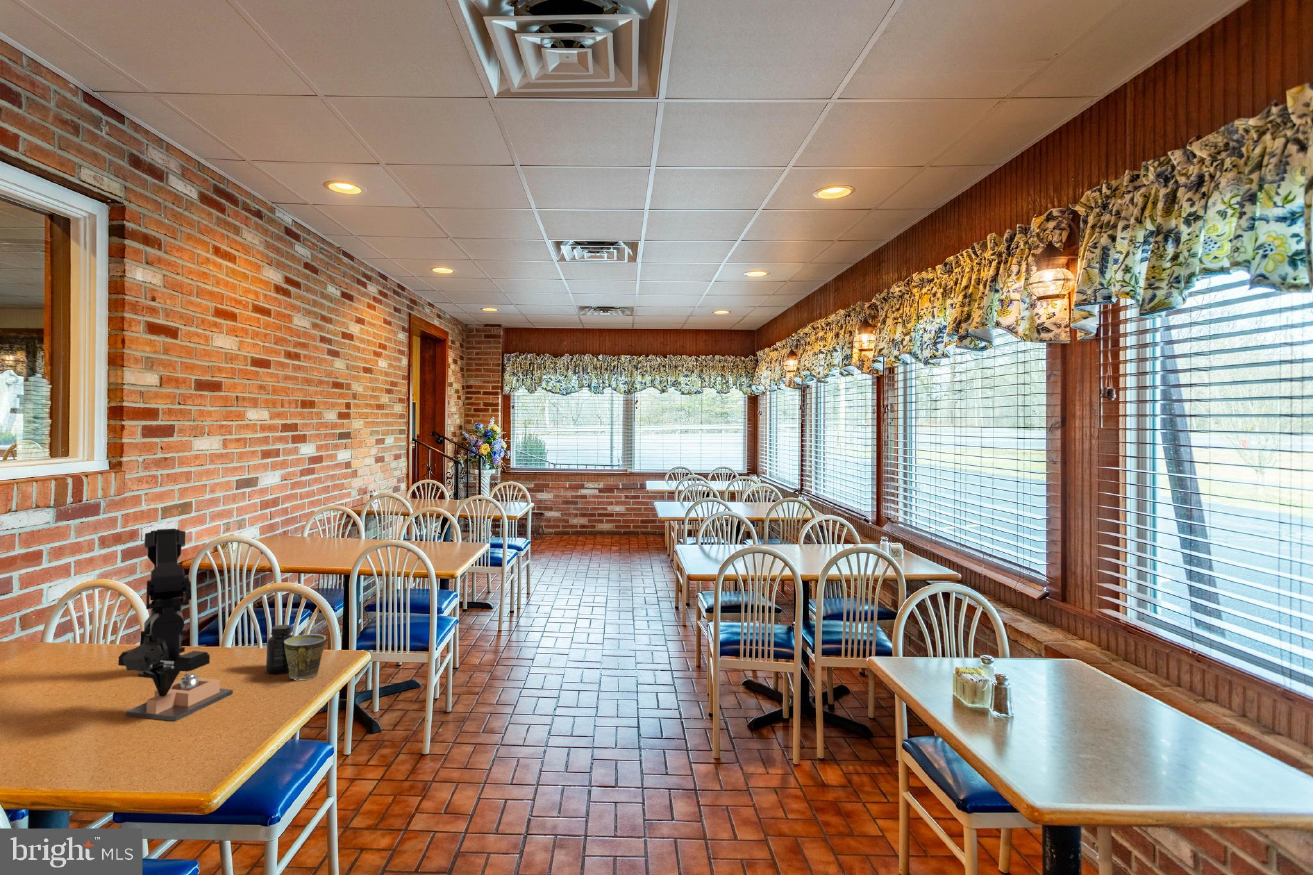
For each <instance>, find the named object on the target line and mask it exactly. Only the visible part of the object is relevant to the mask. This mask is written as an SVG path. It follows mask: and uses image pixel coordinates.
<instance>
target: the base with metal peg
mask: <svg viewBox="0 0 1313 875" xmlns="http://www.w3.org/2000/svg"><path fill="white" fill-rule="evenodd" d="M199 678H200V677H199V676H198V675H196V673H194V672H191V673H187V674H184V676H183V677H181V678H180V680H181V685H180V690H185V691H189V690H191V689H194V688H196V687H198V679H199ZM233 691H234V689H229V688H227V689H226V688H220V692H218V693H216V694H214V695H212V696H210V697H208V698H205V699H203V700H201V701H199V702H197V703H195V704H193V705H190V706H188V707H186V706H177V705H175V706H173V707H171V708H169V709H167V710H164V711H162V712H160V713H158V714H149V713H146V711H147V702H144V703H143V704H140V705H138V706H136V707H133V708H131V709H128V710H126V711H125V717H131V718H133V717H134V718H143V719H151V720H153V719H155V720H162V721H172V722H177V721H179V720H181V719H183V718H185V717H188V716H189V715H191V714H194V713H195V712H198V711H200V710H201V709H204V708H206V707H208V706H210V705H213V704H214V703H217V702H218V701H222V700H223V699H225V698H227V697H230V696H231V695H233V693H234V692H233Z"/></svg>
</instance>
